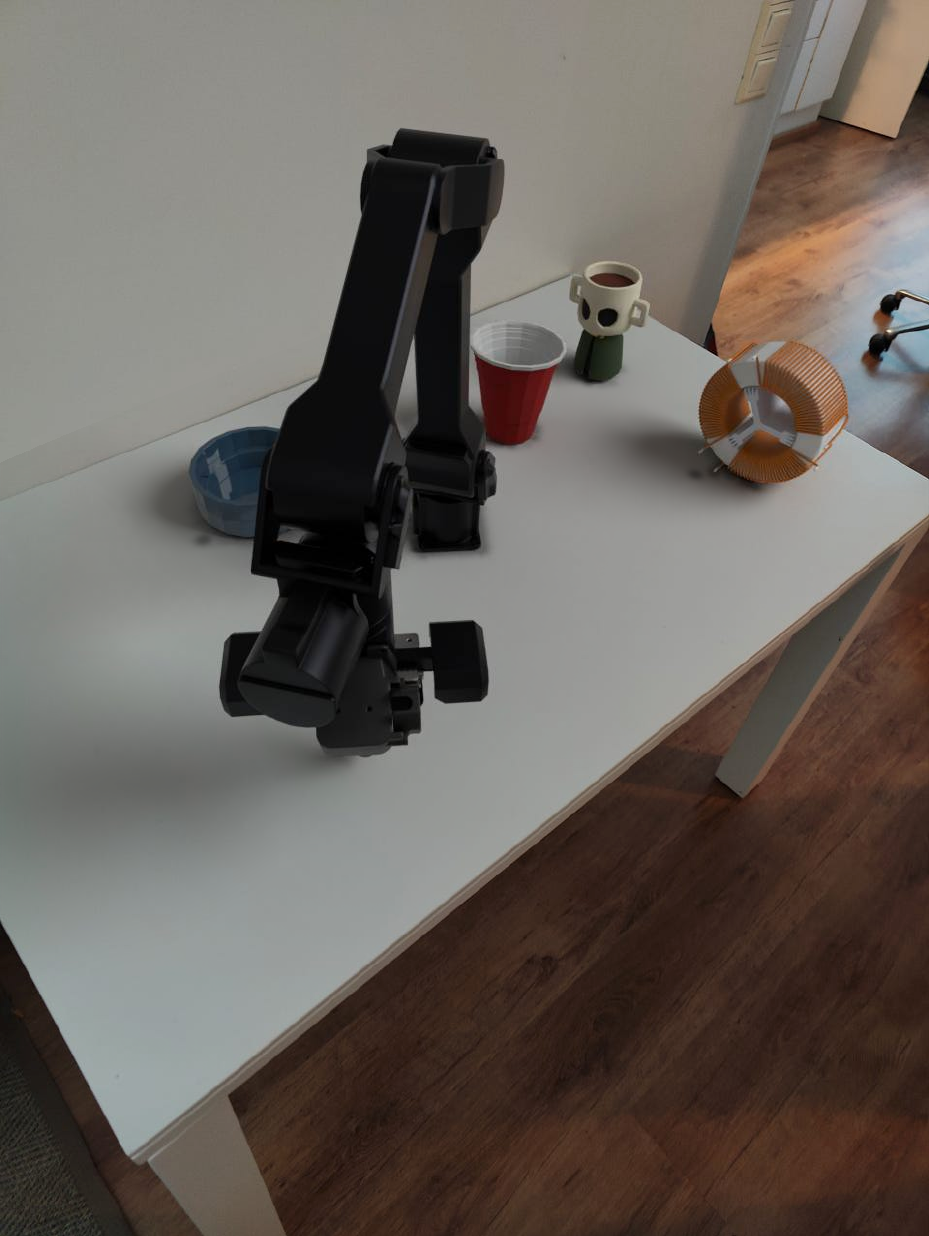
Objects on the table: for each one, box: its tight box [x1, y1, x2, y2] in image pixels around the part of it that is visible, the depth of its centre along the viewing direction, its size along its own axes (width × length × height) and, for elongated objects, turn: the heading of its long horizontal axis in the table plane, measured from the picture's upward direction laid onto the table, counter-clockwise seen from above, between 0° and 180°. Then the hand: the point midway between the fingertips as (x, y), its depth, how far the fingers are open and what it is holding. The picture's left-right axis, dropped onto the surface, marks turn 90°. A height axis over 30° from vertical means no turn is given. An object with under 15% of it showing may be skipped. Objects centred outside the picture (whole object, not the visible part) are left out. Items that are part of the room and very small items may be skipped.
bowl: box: [188, 425, 290, 538], centre depth 87 cm, size 13×13×5 cm
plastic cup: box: [470, 319, 568, 446], centre depth 94 cm, size 11×11×12 cm
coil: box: [698, 339, 850, 485], centre depth 90 cm, size 7×15×15 cm, turn 49°
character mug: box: [568, 260, 651, 381], centre depth 103 cm, size 11×7×13 cm, turn 53°
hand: (363, 729), depth 66 cm, fingers closed on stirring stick, 2 cm apart
